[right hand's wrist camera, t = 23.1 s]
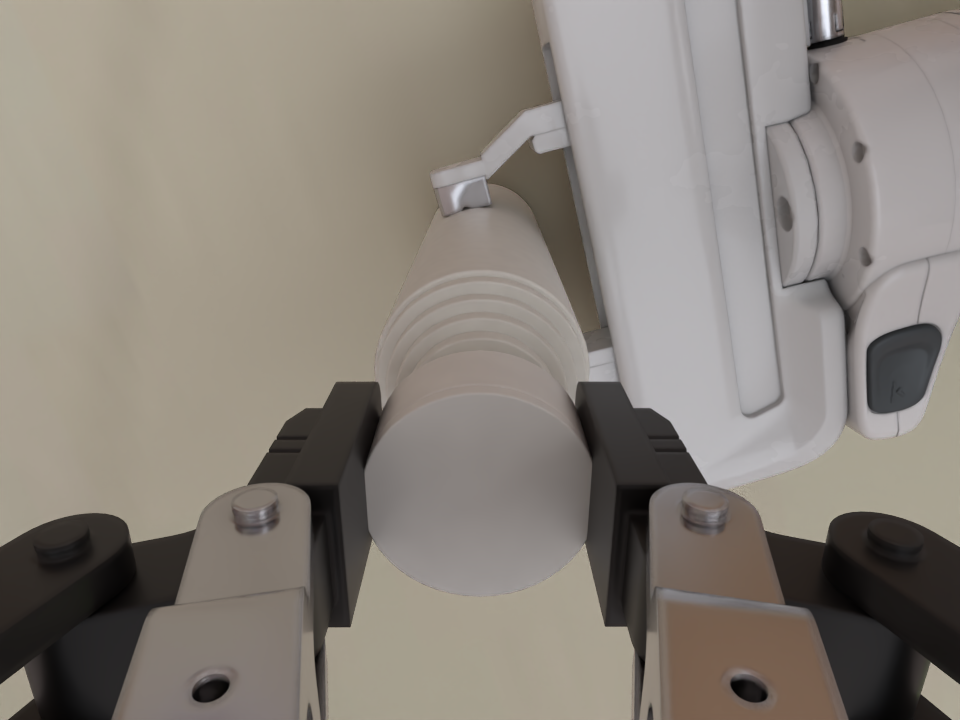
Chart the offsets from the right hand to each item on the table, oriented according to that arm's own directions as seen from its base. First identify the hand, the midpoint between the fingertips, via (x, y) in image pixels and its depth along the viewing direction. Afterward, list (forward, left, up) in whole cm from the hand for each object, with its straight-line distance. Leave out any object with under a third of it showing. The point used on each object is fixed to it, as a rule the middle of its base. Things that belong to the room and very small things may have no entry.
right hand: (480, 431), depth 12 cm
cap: (0, 0, +2) cm, 2 cm away
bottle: (0, 0, -19) cm, 19 cm away
